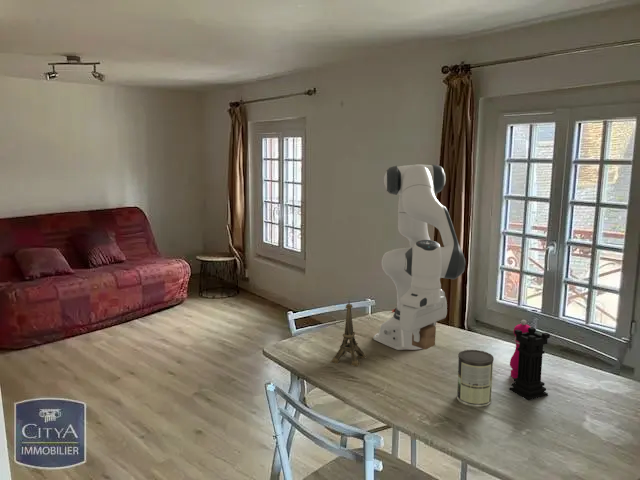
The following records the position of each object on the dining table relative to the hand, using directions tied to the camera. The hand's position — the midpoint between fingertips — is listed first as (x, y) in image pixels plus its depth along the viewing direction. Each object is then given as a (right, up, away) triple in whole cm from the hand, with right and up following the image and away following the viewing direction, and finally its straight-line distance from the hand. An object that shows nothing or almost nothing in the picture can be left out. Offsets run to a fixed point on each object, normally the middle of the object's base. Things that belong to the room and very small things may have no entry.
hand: (423, 338), depth 159 cm
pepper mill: (+36, -17, +17) cm, 44 cm away
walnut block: (0, -2, 0) cm, 2 cm away
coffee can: (+16, -19, +1) cm, 25 cm away
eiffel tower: (-21, -14, +33) cm, 42 cm away
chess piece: (+34, -18, +5) cm, 39 cm away
